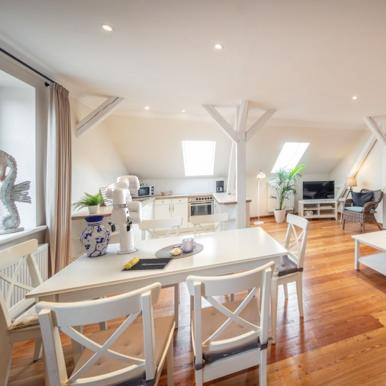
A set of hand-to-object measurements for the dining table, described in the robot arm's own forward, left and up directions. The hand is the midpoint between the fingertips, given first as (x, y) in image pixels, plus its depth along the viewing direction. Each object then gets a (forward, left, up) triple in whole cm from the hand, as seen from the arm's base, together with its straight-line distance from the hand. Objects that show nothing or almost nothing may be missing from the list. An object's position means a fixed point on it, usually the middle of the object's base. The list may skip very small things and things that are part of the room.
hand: (121, 231), depth 153 cm
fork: (+2, +22, -24) cm, 33 cm away
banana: (+2, +7, -24) cm, 25 cm away
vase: (-24, -32, -25) cm, 47 cm away
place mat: (0, +17, -24) cm, 30 cm away
